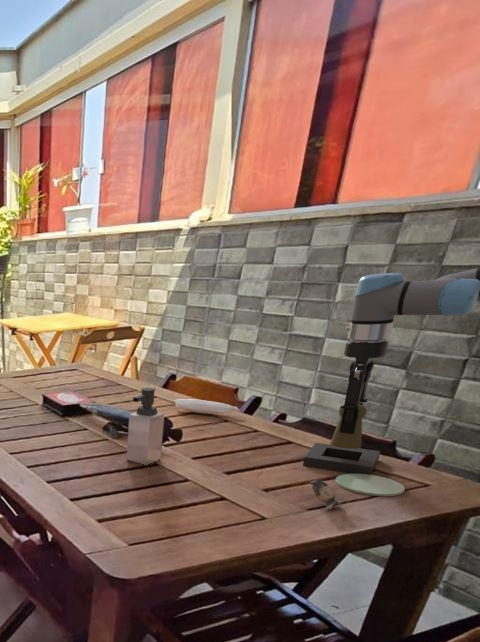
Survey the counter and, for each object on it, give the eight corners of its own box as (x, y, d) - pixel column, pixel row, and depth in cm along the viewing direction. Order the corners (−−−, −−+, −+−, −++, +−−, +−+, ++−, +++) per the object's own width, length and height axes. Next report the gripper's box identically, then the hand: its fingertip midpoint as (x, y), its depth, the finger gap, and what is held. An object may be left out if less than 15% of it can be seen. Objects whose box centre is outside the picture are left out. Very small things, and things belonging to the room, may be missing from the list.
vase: (299, 502, 115) (303, 479, 113) (317, 497, 116) (322, 474, 114) (323, 511, 110) (329, 487, 108) (343, 507, 111) (348, 483, 109)
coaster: (407, 482, 118) (407, 480, 117) (400, 500, 110) (401, 498, 110) (340, 472, 126) (340, 469, 126) (330, 488, 119) (331, 485, 119)
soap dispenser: (121, 462, 148) (125, 391, 140) (140, 454, 151) (145, 385, 144) (141, 468, 142) (146, 394, 135) (160, 460, 146) (166, 388, 138)
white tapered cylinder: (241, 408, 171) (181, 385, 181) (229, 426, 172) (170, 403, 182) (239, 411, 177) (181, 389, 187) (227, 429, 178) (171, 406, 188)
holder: (378, 459, 130) (380, 451, 129) (370, 476, 122) (372, 467, 122) (313, 450, 140) (315, 442, 139) (302, 465, 132) (304, 456, 131)
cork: (328, 446, 130) (335, 406, 126) (332, 439, 133) (340, 400, 130) (359, 450, 125) (368, 408, 122) (363, 443, 129) (371, 402, 125)
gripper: (353, 334, 128) (336, 418, 136) (339, 346, 118) (322, 437, 125) (393, 334, 123) (374, 422, 130) (383, 346, 112) (362, 442, 120)
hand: (348, 429), depth 128 cm, fingers closed on cork, 5 cm apart
